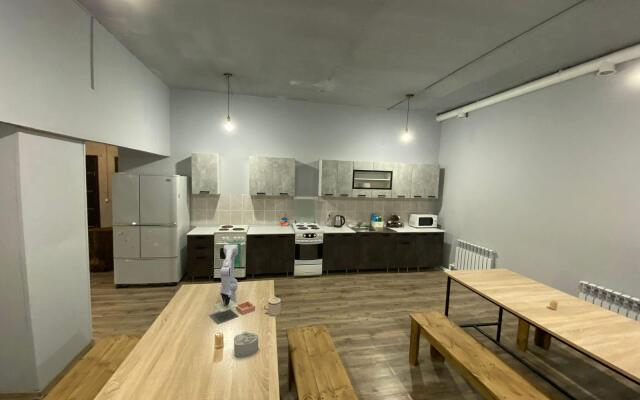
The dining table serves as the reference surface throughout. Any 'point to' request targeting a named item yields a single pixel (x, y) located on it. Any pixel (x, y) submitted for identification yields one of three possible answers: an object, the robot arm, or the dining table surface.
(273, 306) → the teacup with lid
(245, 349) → the lumpy-topped squat cylinder
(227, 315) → the mat
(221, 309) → the lid
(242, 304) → the dish
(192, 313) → the dining table surface
